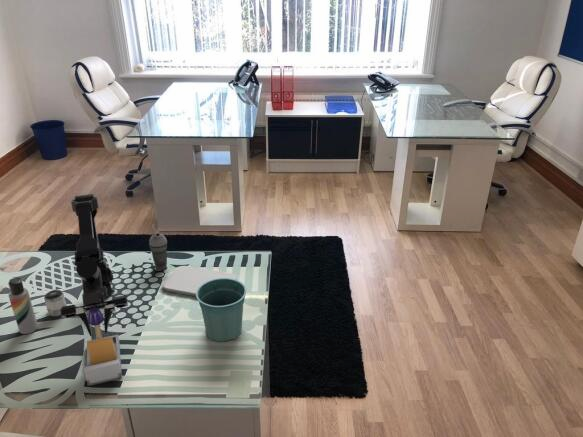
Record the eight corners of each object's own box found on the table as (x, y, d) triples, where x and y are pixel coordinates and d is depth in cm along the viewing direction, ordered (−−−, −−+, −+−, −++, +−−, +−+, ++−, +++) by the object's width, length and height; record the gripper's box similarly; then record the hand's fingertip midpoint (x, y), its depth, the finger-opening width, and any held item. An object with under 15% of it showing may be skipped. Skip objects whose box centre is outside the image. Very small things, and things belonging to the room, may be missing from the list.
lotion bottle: (23, 323, 165) (9, 275, 155) (40, 323, 165) (27, 274, 156) (16, 334, 159) (1, 285, 150) (34, 334, 160) (19, 284, 151)
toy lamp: (108, 344, 152) (99, 303, 145) (112, 353, 149) (103, 311, 141) (93, 350, 150) (83, 308, 142) (97, 359, 147) (87, 317, 139)
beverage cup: (165, 273, 194) (160, 229, 185) (149, 271, 195) (142, 227, 186) (173, 263, 200) (168, 221, 191) (157, 261, 201) (151, 219, 192)
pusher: (91, 362, 147) (86, 342, 144) (116, 356, 150) (112, 337, 146) (91, 364, 146) (86, 344, 143) (116, 359, 149) (112, 339, 145)
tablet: (223, 303, 177) (222, 298, 176) (159, 291, 183) (159, 286, 182) (238, 279, 191) (238, 274, 190) (179, 269, 197) (178, 264, 196)
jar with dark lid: (68, 313, 170) (64, 295, 166) (49, 319, 167) (44, 300, 163) (65, 304, 175) (61, 286, 171) (47, 309, 172) (42, 291, 168)
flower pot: (190, 326, 165) (187, 288, 157) (231, 309, 174) (230, 272, 166) (214, 353, 153) (211, 313, 146) (257, 333, 162) (256, 294, 155)
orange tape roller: (88, 346, 155) (84, 331, 152) (119, 339, 158) (116, 325, 155) (87, 386, 140) (83, 371, 137) (121, 378, 143) (119, 363, 140)
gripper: (54, 285, 138) (60, 339, 134) (122, 273, 144) (129, 325, 140) (61, 292, 148) (66, 342, 144) (124, 281, 154) (131, 329, 150)
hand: (98, 334), depth 144 cm, fingers closed on toy lamp, 4 cm apart
